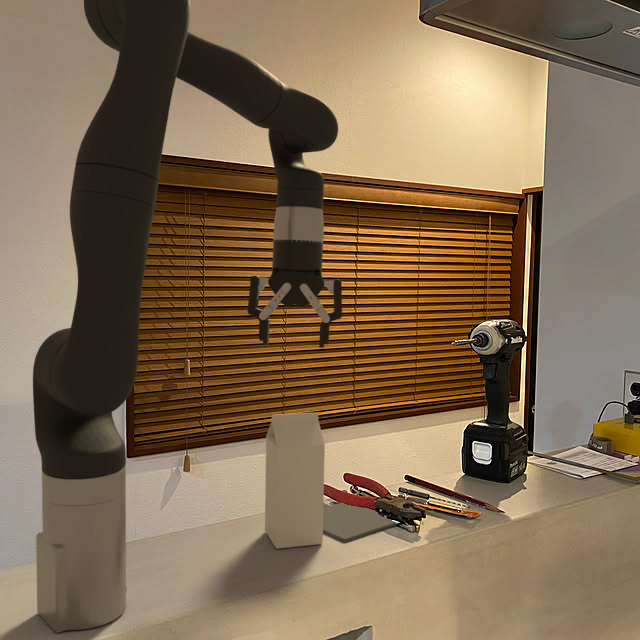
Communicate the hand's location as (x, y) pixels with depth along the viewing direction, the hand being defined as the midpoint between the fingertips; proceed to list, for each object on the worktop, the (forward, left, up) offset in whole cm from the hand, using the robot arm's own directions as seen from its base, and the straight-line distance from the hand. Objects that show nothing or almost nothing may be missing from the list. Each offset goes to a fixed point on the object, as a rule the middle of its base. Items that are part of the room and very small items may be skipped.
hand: (293, 345), depth 108 cm
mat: (+12, -3, -29) cm, 31 cm away
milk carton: (-2, -3, -29) cm, 29 cm away
